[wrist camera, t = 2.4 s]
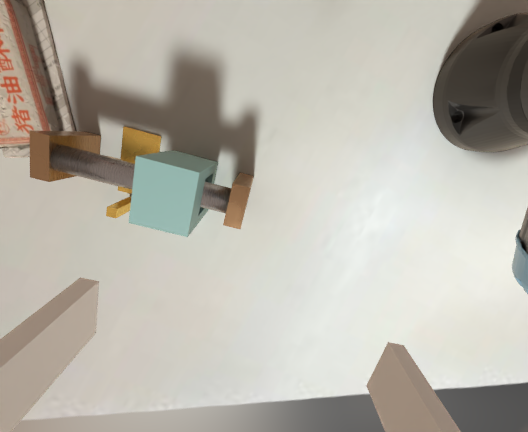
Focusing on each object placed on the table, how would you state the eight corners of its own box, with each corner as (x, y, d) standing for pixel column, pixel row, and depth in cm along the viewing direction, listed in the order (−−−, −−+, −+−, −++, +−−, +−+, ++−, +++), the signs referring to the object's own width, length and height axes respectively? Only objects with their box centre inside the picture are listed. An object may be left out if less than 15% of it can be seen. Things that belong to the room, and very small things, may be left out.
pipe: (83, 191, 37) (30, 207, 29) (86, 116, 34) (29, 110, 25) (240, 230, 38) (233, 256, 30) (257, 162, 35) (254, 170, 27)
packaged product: (-89, -20, 26) (8, -24, 26) (-35, 4, 30) (47, 0, 30) (-22, 160, 31) (58, 157, 31) (15, 157, 36) (85, 154, 36)
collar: (165, 199, 35) (128, 222, 25) (173, 150, 33) (135, 156, 23) (208, 209, 35) (187, 237, 26) (218, 162, 33) (199, 172, 24)
